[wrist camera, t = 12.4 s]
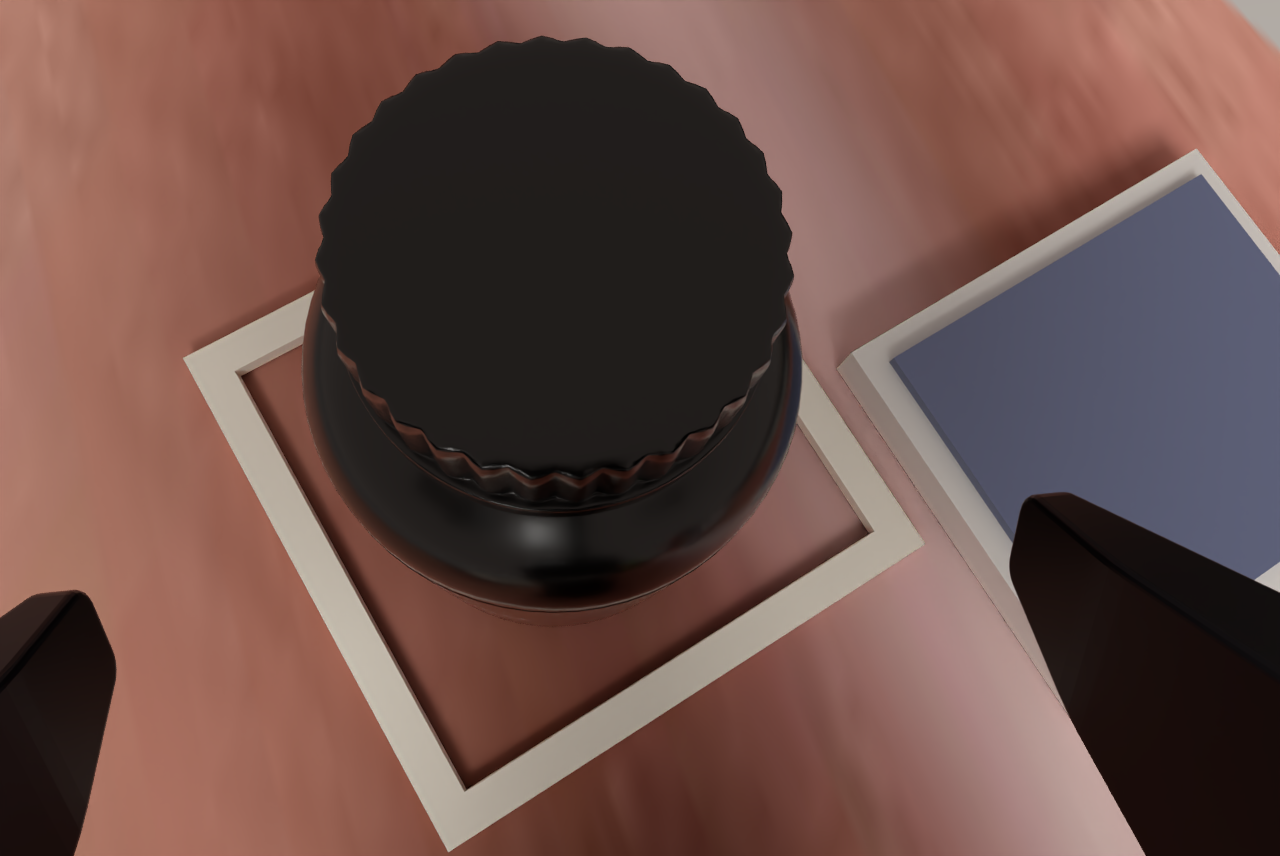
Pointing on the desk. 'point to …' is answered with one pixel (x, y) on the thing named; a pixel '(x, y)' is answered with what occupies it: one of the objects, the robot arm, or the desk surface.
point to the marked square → (610, 721)
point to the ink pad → (1099, 384)
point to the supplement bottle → (552, 329)
